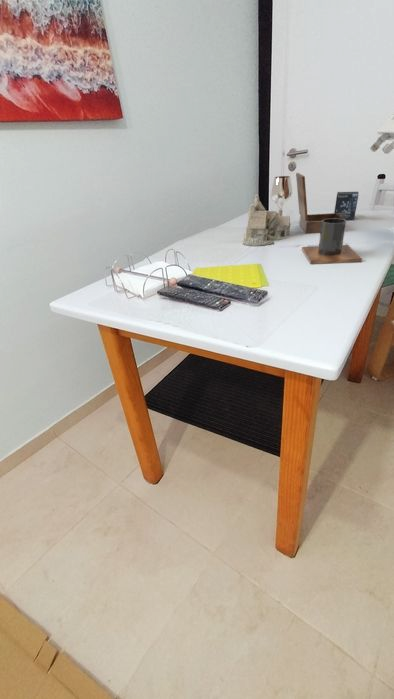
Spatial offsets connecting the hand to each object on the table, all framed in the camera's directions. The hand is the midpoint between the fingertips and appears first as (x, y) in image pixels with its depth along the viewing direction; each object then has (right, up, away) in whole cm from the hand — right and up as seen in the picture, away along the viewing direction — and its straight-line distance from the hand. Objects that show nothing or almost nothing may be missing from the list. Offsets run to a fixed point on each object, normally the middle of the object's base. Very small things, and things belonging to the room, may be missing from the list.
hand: (377, 151), depth 97 cm
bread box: (-6, -13, +29) cm, 32 cm away
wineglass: (-19, -8, +39) cm, 44 cm away
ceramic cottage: (-28, -18, +24) cm, 41 cm away
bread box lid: (-14, -3, +23) cm, 27 cm away
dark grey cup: (-13, -28, +4) cm, 31 cm away
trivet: (-12, -29, +4) cm, 32 cm away
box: (+7, -5, +39) cm, 40 cm away
